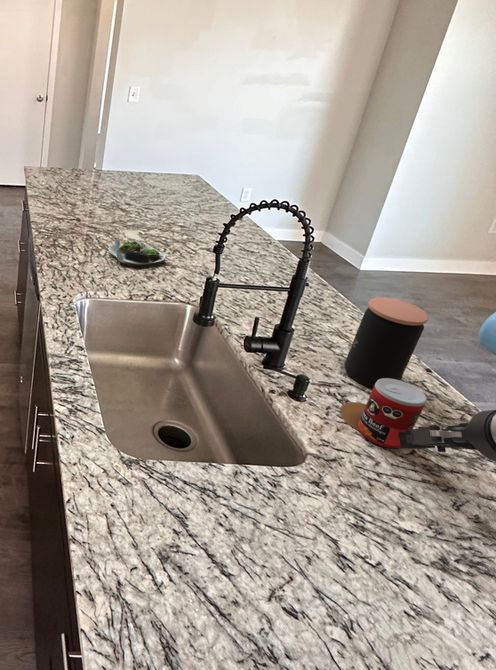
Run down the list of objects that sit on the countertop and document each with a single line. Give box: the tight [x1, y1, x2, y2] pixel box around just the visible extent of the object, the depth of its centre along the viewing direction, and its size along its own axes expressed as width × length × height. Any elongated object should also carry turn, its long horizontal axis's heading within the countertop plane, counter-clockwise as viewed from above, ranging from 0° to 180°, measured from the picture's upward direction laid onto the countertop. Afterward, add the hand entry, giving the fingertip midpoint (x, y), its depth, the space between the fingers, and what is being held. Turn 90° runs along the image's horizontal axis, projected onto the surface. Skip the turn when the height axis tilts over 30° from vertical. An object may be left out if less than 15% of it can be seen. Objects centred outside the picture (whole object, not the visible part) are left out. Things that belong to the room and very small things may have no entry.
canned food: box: [358, 378, 428, 449], centre depth 103 cm, size 8×8×11 cm
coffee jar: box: [344, 296, 430, 389], centre depth 119 cm, size 11×11×18 cm
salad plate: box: [108, 239, 166, 269], centre depth 179 cm, size 19×18×5 cm
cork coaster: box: [339, 402, 367, 432], centre depth 109 cm, size 11×11×1 cm
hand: (403, 440), depth 99 cm, fingers closed
